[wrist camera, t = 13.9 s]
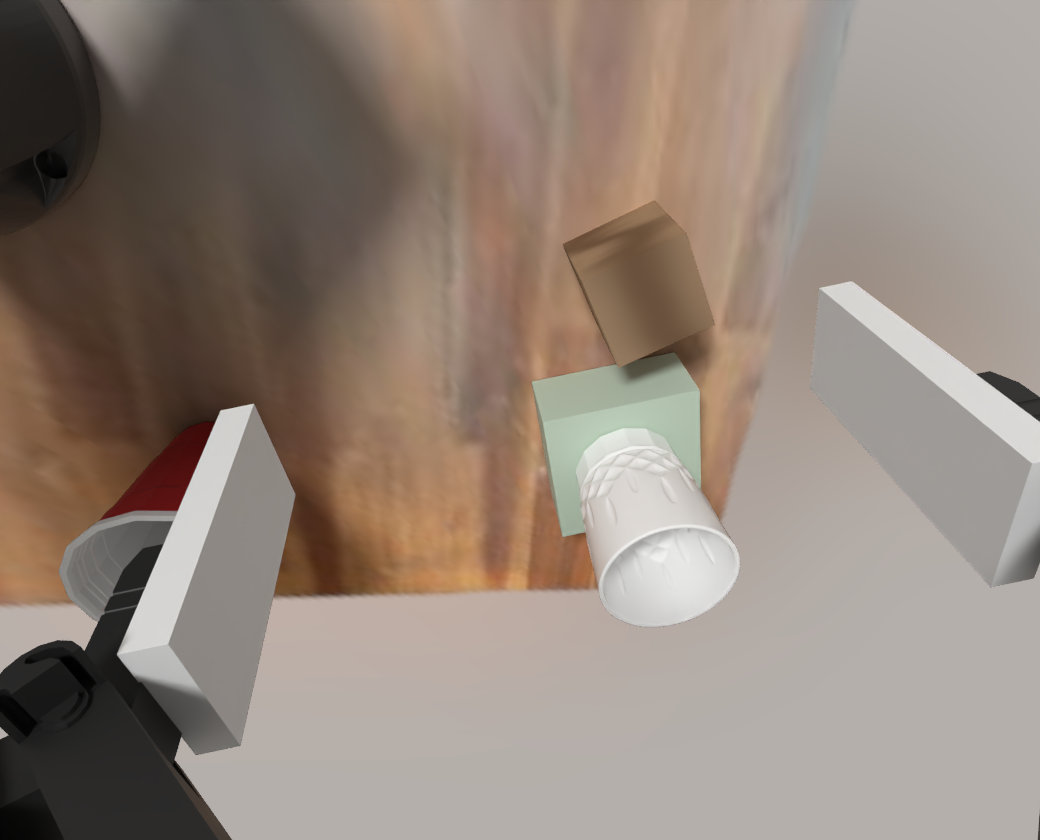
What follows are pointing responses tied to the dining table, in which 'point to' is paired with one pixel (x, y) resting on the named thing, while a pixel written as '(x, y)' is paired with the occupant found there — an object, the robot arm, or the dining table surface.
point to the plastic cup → (132, 523)
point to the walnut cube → (640, 282)
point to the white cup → (651, 532)
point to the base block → (614, 419)
